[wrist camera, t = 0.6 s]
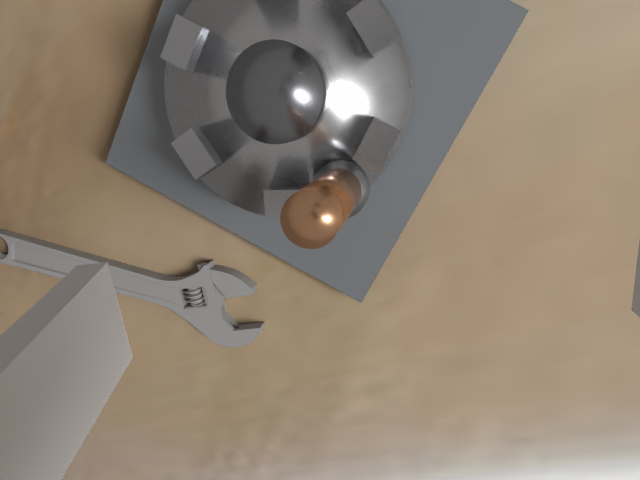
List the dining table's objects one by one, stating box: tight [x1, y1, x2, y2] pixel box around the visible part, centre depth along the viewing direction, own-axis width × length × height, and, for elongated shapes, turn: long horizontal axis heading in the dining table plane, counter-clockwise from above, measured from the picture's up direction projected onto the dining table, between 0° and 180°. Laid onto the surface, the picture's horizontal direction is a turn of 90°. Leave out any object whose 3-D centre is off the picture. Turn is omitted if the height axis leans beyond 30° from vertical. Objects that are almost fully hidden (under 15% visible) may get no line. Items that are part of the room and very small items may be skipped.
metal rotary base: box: [160, 0, 413, 249], centre depth 30 cm, size 17×16×13 cm
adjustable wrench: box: [0, 230, 265, 347], centre depth 44 cm, size 25×6×2 cm, turn 74°
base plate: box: [105, 0, 529, 303], centre depth 37 cm, size 22×22×2 cm
